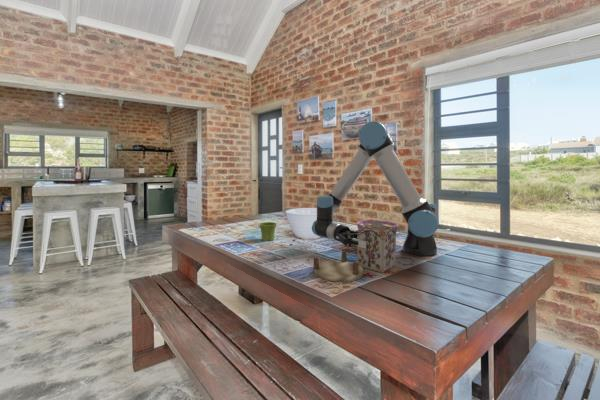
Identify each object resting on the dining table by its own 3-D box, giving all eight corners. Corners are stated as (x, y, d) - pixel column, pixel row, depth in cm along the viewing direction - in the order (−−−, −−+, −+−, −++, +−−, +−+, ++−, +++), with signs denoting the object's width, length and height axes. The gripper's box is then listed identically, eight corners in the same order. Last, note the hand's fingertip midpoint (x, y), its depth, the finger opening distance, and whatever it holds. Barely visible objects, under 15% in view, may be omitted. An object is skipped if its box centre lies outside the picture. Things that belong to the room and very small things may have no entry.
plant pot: (268, 242, 165) (268, 226, 164) (255, 240, 170) (255, 223, 169) (280, 239, 172) (280, 223, 171) (267, 236, 178) (267, 221, 177)
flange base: (354, 264, 130) (354, 250, 130) (369, 280, 113) (370, 264, 112) (309, 266, 128) (309, 251, 127) (318, 282, 110) (318, 265, 109)
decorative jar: (369, 260, 137) (370, 218, 135) (395, 265, 130) (397, 222, 128) (355, 266, 128) (356, 222, 126) (382, 273, 120) (384, 226, 118)
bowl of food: (387, 254, 146) (388, 229, 145) (348, 247, 158) (349, 223, 157) (403, 245, 162) (404, 223, 160) (366, 239, 174) (367, 218, 172)
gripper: (357, 237, 152) (395, 246, 135) (317, 245, 136) (355, 257, 120) (358, 221, 151) (396, 229, 134) (318, 227, 136) (355, 237, 119)
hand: (377, 242), depth 127 cm, fingers open, 13 cm apart
